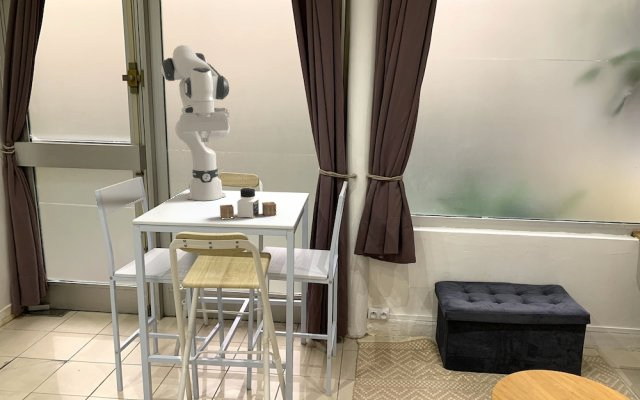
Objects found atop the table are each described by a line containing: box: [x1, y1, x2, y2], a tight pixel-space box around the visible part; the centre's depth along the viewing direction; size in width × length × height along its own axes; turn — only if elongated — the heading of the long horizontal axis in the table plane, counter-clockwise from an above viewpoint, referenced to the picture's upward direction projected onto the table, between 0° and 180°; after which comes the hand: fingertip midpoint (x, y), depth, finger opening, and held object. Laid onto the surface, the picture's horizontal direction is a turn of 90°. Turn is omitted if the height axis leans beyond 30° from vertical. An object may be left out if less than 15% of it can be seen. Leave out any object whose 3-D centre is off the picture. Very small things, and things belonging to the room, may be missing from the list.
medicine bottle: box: [236, 187, 260, 219], centre depth 227 cm, size 7×7×12 cm
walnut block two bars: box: [261, 201, 277, 217], centre depth 230 cm, size 5×5×5 cm
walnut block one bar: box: [219, 204, 235, 219], centre depth 225 cm, size 5×5×5 cm
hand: (205, 141), depth 224 cm, fingers closed
